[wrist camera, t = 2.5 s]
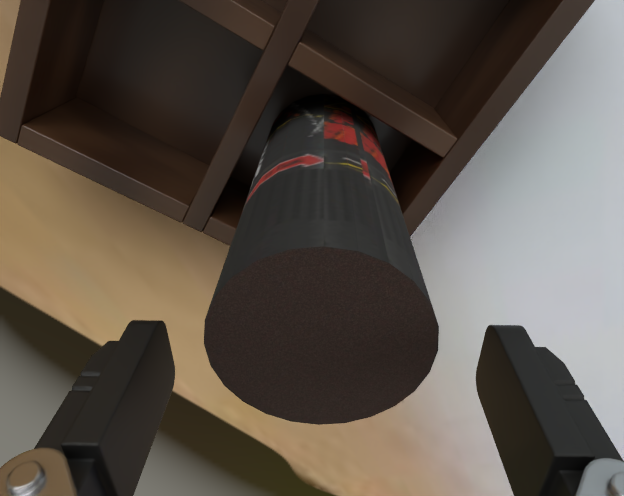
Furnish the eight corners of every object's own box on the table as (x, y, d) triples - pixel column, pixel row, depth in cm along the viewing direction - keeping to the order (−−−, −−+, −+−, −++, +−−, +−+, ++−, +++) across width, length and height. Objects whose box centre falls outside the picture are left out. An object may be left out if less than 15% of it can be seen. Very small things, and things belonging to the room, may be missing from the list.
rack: (55, 101, 24) (-9, 133, 19) (182, -363, 16) (124, -502, 11) (350, 251, 28) (355, 306, 24) (571, -55, 20) (645, -63, 15)
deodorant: (373, 203, 26) (421, 427, 13) (268, 200, 26) (214, 421, 13) (383, 95, 23) (458, 249, 10) (264, 92, 23) (190, 243, 10)
